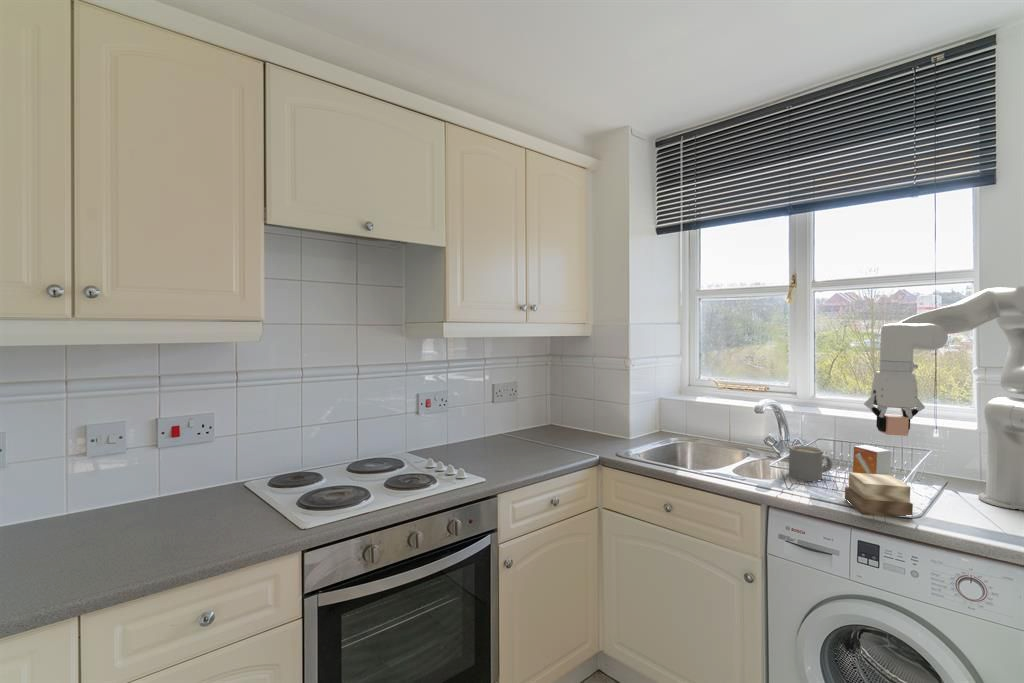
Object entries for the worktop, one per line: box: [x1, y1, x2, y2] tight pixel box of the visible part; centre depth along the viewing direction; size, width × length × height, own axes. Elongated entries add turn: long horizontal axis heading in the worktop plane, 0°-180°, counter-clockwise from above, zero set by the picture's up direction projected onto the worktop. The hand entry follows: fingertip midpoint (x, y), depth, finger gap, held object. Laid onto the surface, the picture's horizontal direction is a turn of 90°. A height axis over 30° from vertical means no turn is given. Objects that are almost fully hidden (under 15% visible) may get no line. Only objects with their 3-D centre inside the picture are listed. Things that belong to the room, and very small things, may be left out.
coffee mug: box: [788, 444, 833, 482], centre depth 174 cm, size 13×10×10 cm
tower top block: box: [848, 472, 911, 503], centre depth 146 cm, size 11×11×4 cm
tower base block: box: [844, 486, 914, 518], centre depth 146 cm, size 12×12×4 cm
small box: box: [852, 444, 892, 475], centre depth 164 cm, size 8×6×13 cm
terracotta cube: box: [878, 413, 909, 437], centre depth 143 cm, size 5×5×5 cm
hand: (892, 430), depth 143 cm, fingers closed on terracotta cube, 5 cm apart
